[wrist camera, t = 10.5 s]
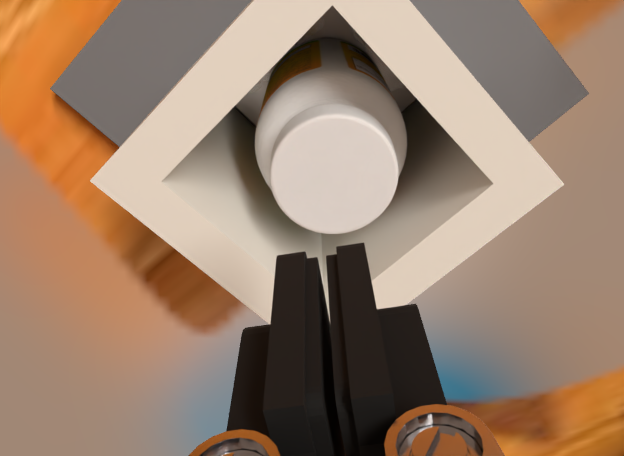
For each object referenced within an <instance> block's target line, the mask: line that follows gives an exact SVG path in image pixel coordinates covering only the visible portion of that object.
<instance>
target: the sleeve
mask: <svg viewBox="0 0 624 456" xmlns="http://www.w3.org/2000/svg"><path fill="white" fill-rule="evenodd" d="M332 5H333V6H334V8H335V9H336V10H337V11H338V12H339V13H340V14H341V15H342V16H343V18H344V19H345V20H346V21H347V22H348V23H349V24H350V25H351V26H352V27H353V29H354V30H355V31H356V32H357V33H358V34H359V35H360V36H361V37H362V39H363V40H364V41H365V42H366V43H367V44H368V45H369V46H370V47H371V49H372V50H373V51H374V52H375V53H376V54H377V55H378V56H379V57H380V59H381V60H382V61H383V62H384V63H385V64H386V65H387V66H388V67H389V68H390V70H391V71H392V72H393V73H394V74H395V75H396V76H397V77H398V78H399V80H400V81H401V82H402V83H403V84H404V85H405V86H406V87H407V88H408V90H409V91H410V92H411V93H412V94H413V95H414V96H415V97H416V98H417V100H416V101H415V102H414V103H413V104H412V105H410V106H409V107H408V108H407V109H406V110H405V111H404V112H403V113H402V117H403V120H404V123H405V127H406V132H407V152H406V158H405V162H404V166H403V168H402V171H401V173H400V175H399V177H398V184H397V188H396V191H395V194H394V196H393V198H392V200H391V202H390V204H389V205H388V207H387V208H386V209H385V211H384V212H383V213H382V214H381V215H380V216H379V217H378V218H376V219H375V220H374V221H373V222H371V223H370V224H368V225H366V226H364V227H362V228H360V229H358V230H355V231H352V232H348V233H341V234H324V233H318V232H314V231H311V230H308V229H306V228H304V227H302V226H300V225H298V224H297V223H295V222H294V221H292V220H291V219H290V218H289V217H288V216H287V215H286V214H285V213H284V212H283V211H282V209H281V208H280V207H279V205H278V203H277V202H276V200H275V198H274V196H273V193H272V190H271V189H270V187H269V186H268V185H267V183H266V181H265V179H264V177H263V175H262V173H261V171H260V168H259V166H258V163H257V158H256V153H255V133H256V128H255V127H254V126H253V125H252V124H251V123H250V122H249V121H248V120H247V119H246V118H245V117H244V116H243V115H241V114H240V113H239V112H238V111H237V110H236V109H235V108H234V106H235V105H236V104H237V103H238V102H239V101H240V100H241V99H242V98H243V97H244V96H245V95H246V94H247V93H248V92H249V91H250V90H251V89H252V88H253V87H254V86H255V84H256V83H257V82H258V81H259V80H260V79H261V78H262V77H263V76H264V75H265V74H266V73H267V72H268V71H269V70H270V69H271V68H272V67H273V66H274V65H275V64H276V63H277V62H278V61H279V60H280V59H281V58H282V57H283V56H284V55H285V54H286V53H287V51H288V50H289V49H290V48H291V47H292V46H293V45H294V44H295V43H296V42H297V41H298V40H299V39H300V38H301V37H302V36H303V35H304V34H305V33H306V32H307V31H308V30H309V29H310V28H311V27H312V26H313V25H314V24H315V23H316V22H317V21H318V20H319V19H320V17H321V16H322V15H323V14H324V13H325V12H326V11H327V10H328V9H329V8H330V7H331V6H332ZM90 182H92V183H93V184H94V185H95V186H97V187H98V188H99V189H100V190H102V191H103V192H104V193H105V194H107V195H108V196H109V197H110V198H112V199H113V200H114V201H115V202H117V203H118V204H119V205H120V206H122V207H123V208H124V209H126V210H127V211H128V212H129V213H131V214H132V215H133V216H134V217H136V218H137V219H138V220H139V221H141V222H142V223H143V224H144V225H146V226H147V227H148V228H149V229H151V230H152V231H153V232H154V233H156V234H157V235H158V236H159V237H161V238H162V239H163V240H164V241H166V242H167V243H168V244H169V245H171V246H172V247H173V248H174V249H176V250H177V251H178V252H179V253H181V254H182V255H183V256H184V257H186V258H187V259H188V260H189V261H191V262H192V263H193V264H194V265H196V266H197V267H198V268H199V269H201V270H202V271H203V272H204V273H206V274H207V275H208V276H209V277H211V278H212V279H213V280H214V281H216V282H217V283H218V284H219V285H221V286H222V287H223V288H224V289H226V290H227V291H228V292H229V293H231V294H232V295H233V296H235V297H236V298H237V299H238V300H240V301H241V302H242V303H243V304H245V305H246V306H247V307H248V308H250V309H251V310H252V311H253V312H255V313H256V314H257V315H258V316H260V317H261V318H262V319H264V320H265V321H266V322H267V323H269V324H270V323H271V312H272V301H273V290H274V278H275V267H276V257H277V255H283V254H290V253H297V252H303V251H305V252H306V255H307V258H314V257H317V258H318V262H319V267H320V272H321V278H322V283H323V288H324V294H325V299H326V304H327V310H328V315H329V320H330V312H329V296H328V281H327V265H326V256H327V255H334V254H337V252H336V247H337V246H343V245H350V244H357V243H364V244H365V249H366V255H367V260H368V265H369V270H370V276H371V281H372V286H373V291H374V297H375V302H376V307H377V309H383V308H390V307H397V306H404V305H406V304H408V303H409V302H410V301H411V300H413V299H414V298H416V297H417V296H418V295H419V294H421V293H422V292H423V291H425V290H426V289H427V288H429V287H430V286H431V285H433V284H434V283H435V282H437V281H438V280H439V279H441V278H442V277H443V276H444V275H446V274H447V273H448V272H450V271H451V270H452V269H453V268H455V267H456V266H458V265H459V264H460V263H462V262H463V261H464V260H465V259H466V258H468V257H469V256H471V255H472V254H473V253H475V252H476V251H477V250H479V249H480V248H481V247H483V246H484V245H485V244H487V243H488V242H489V241H490V240H492V239H493V238H494V237H496V236H497V235H498V234H500V233H501V232H502V231H504V230H505V229H506V228H508V227H509V226H510V225H512V224H513V223H514V222H516V221H517V220H518V219H519V218H521V217H522V216H523V215H525V214H526V213H527V212H529V211H530V210H531V209H533V207H535V206H536V205H538V204H539V203H541V202H542V201H543V200H544V199H546V198H547V197H548V196H550V195H551V194H552V193H554V192H555V191H556V190H558V189H559V188H560V187H562V186H563V185H564V183H563V182H562V181H561V180H560V179H559V177H558V176H557V175H556V174H555V173H554V172H553V170H552V169H551V168H550V167H549V165H548V164H547V163H546V162H545V161H544V160H543V158H542V157H541V156H540V155H539V154H538V153H537V151H536V150H535V149H534V148H533V147H532V145H531V144H530V143H529V142H528V141H527V139H526V138H525V137H524V136H523V135H522V133H521V132H520V131H519V130H518V129H517V127H516V126H515V125H514V124H513V123H512V122H511V120H510V119H509V118H508V117H507V116H506V114H505V113H504V112H503V111H502V110H501V108H500V107H499V106H498V105H497V104H496V102H495V101H494V100H493V99H492V98H491V97H490V95H489V94H488V93H487V92H486V91H485V89H484V88H483V87H482V86H481V85H480V83H479V82H478V81H477V80H476V79H475V78H474V76H473V75H472V74H471V73H470V72H469V70H468V69H467V68H466V67H465V66H464V64H463V63H462V62H461V61H460V60H459V59H458V57H457V56H456V55H455V54H454V53H453V51H452V50H451V49H450V48H449V47H448V45H447V44H446V43H445V42H444V41H443V40H442V38H441V37H440V36H439V35H438V34H437V32H436V31H435V30H434V29H433V28H432V26H431V25H430V24H429V23H428V22H427V20H426V19H425V18H424V17H423V16H422V15H421V13H420V12H419V11H418V10H417V9H416V7H415V6H414V5H413V4H412V3H411V1H410V0H252V1H251V2H250V3H249V4H248V5H247V6H246V7H245V8H244V10H243V11H242V12H241V13H240V14H239V15H238V16H237V17H236V18H235V19H234V21H233V22H232V23H231V24H230V25H229V26H228V27H227V28H226V29H225V31H224V32H223V33H222V34H221V35H220V36H219V37H218V38H217V39H216V40H215V42H214V43H213V44H212V45H211V46H210V47H209V48H208V49H207V50H206V51H205V53H204V54H203V55H202V56H201V57H200V58H199V59H198V60H197V61H196V62H195V64H194V65H193V66H192V67H191V68H190V69H189V70H188V71H187V72H186V73H185V75H184V76H183V77H182V78H181V79H180V80H179V81H178V82H177V83H176V84H175V86H174V87H173V88H172V89H171V90H170V91H169V92H168V93H167V95H166V96H165V97H164V98H163V99H162V100H161V101H160V102H159V104H158V105H157V106H156V107H155V108H154V109H153V110H152V111H151V113H150V114H149V115H148V116H147V117H146V118H145V119H144V120H143V122H142V123H141V124H140V125H139V126H138V127H137V128H136V129H135V131H134V132H133V133H132V134H131V135H130V136H129V137H128V138H127V140H126V141H125V142H124V143H123V144H122V145H121V146H120V147H119V149H118V150H117V151H116V152H115V153H114V154H113V155H112V156H111V158H110V159H109V160H108V161H107V162H106V163H105V164H104V165H103V167H102V168H101V169H100V170H99V171H98V172H97V173H96V174H95V176H94V177H93V178H92V179H91V180H90Z"/></svg>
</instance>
